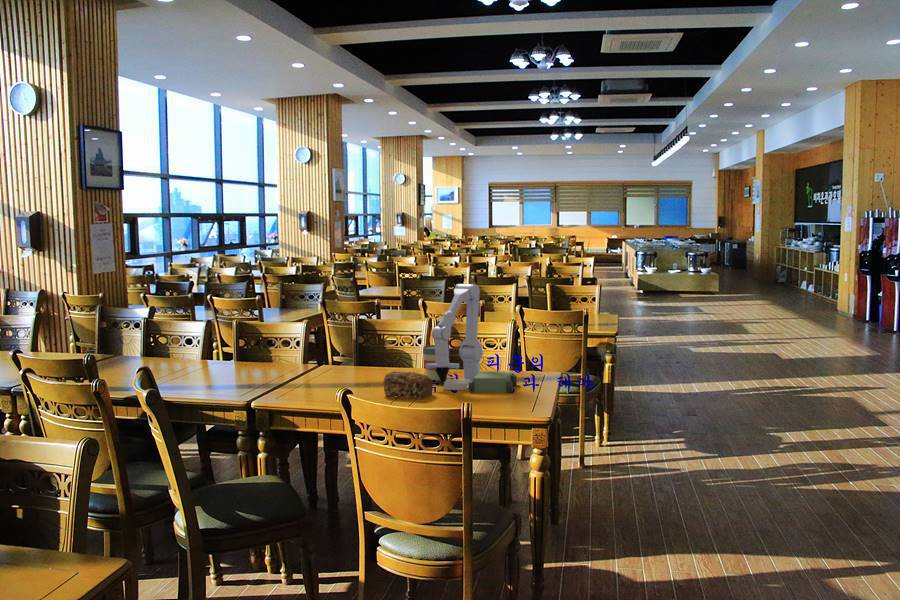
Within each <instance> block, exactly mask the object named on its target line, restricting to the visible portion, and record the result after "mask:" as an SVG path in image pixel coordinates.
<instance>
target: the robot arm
mask: <svg viewBox="0 0 900 600" xmlns="http://www.w3.org/2000/svg"><path fill="white" fill-rule="evenodd" d="M480 290H481V288H480V287H479V286H478V285H477V284H476V283H457V284H456V285H455V287H454V289H453V294H454V296H453V298H452V300H451V302H450V305H449V308H448V309H447V311H445V312H444V313H443V314H442V316H441V318H440V320H439V322H438V324H437V325H436V326H435V327H433V329H432V330H431V337H432V339H433V343H434V345H435V355H436V363H427V364H426V369H428V368H436V372H437V374H438V376H439V378H440V380H439V382H440V384H441V386H444V382H445V381H446V380H447V379H446V377H447V378H448V373H449V371H450V369H456V370H458V369H460V363H454V362H450V356H449V355H450V352H448V346H449V339H450V337H451V336H452V335H451V334H452V327H453V325H454V324H455V322H456V319H457V318H456V317H457V316H456V314H457V312H458V311H459V309H460V307H461V306H462V304H463V302H464V303H465V304H466V317H465V318H466V319H465V335H464V336H465V338H464V340H462V342H461V343H460V347H459V351H458V354H459V355H458V356H459V357H460V358H461V361H462V362H463V364H462V365H463V379H462V380H470V381H474V377H475V375H477V374H478V373H479V372H481V363H480V361H481V359H483V354H484V350H483V344H482V342H480V341H479V340H478V333H479V332H478V329H479V327H478V326H479V313H480V312H479V309H480V306H479V305H480V294H481V293H480ZM426 369H425V370H426Z"/></svg>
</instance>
